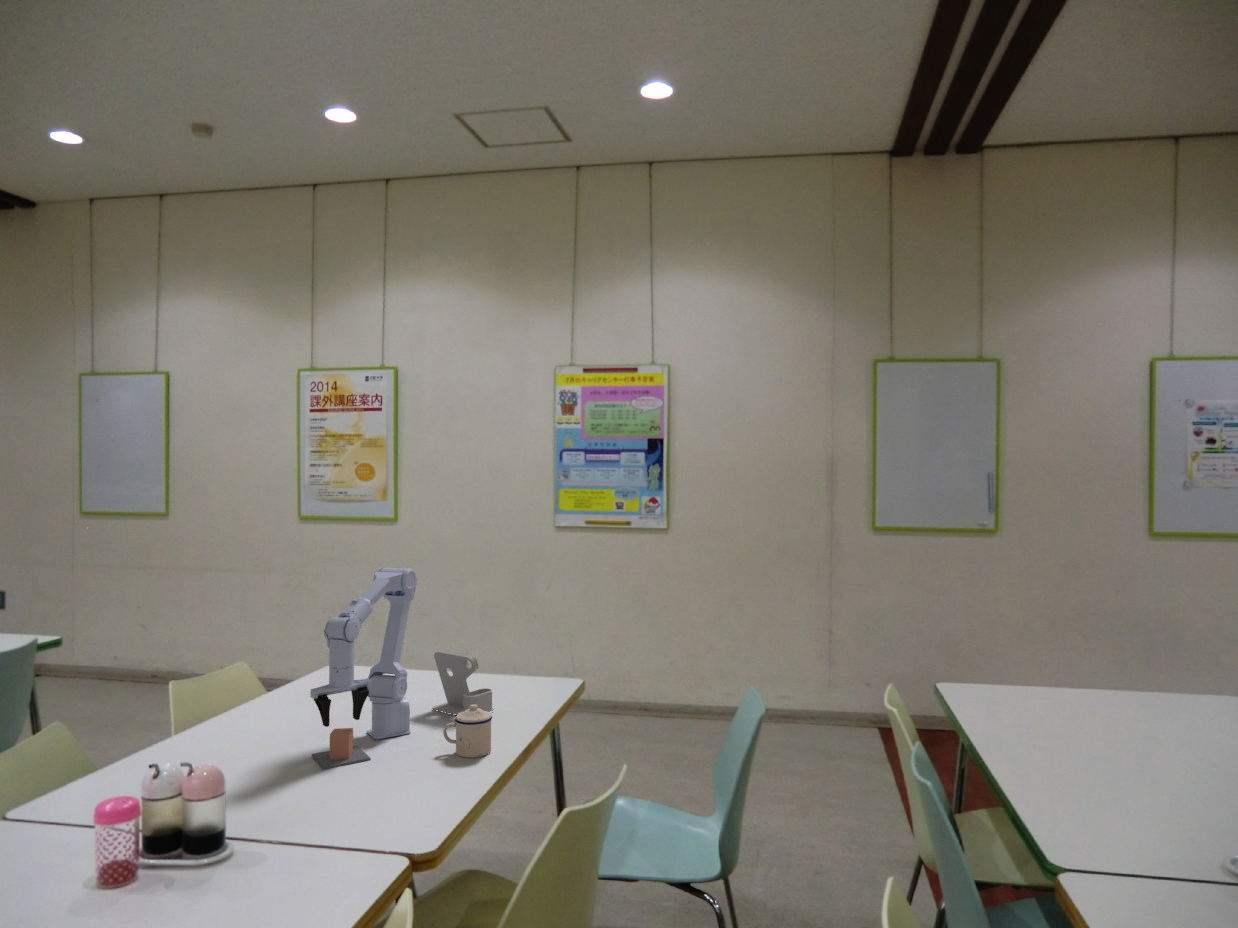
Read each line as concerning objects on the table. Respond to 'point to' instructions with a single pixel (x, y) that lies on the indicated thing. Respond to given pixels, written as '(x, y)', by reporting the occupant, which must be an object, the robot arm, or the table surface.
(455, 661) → the phone holder
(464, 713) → the teacup with lid
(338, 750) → the brick-red block
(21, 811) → the table surface
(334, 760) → the charcoal mat
